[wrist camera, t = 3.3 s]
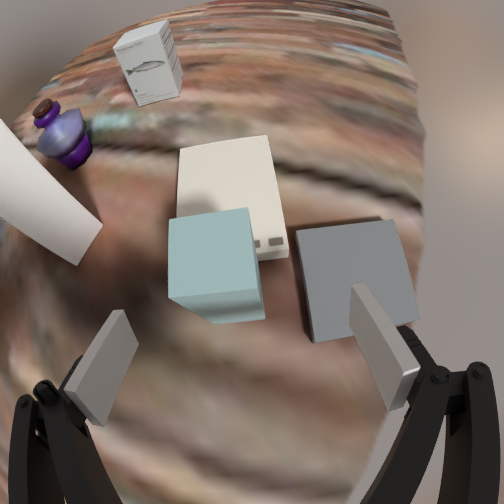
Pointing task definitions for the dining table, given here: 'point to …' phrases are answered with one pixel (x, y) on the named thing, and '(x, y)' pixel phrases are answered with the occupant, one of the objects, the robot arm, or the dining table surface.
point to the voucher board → (235, 188)
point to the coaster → (353, 274)
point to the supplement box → (150, 63)
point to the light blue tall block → (215, 266)
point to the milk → (42, 203)
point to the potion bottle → (62, 134)
